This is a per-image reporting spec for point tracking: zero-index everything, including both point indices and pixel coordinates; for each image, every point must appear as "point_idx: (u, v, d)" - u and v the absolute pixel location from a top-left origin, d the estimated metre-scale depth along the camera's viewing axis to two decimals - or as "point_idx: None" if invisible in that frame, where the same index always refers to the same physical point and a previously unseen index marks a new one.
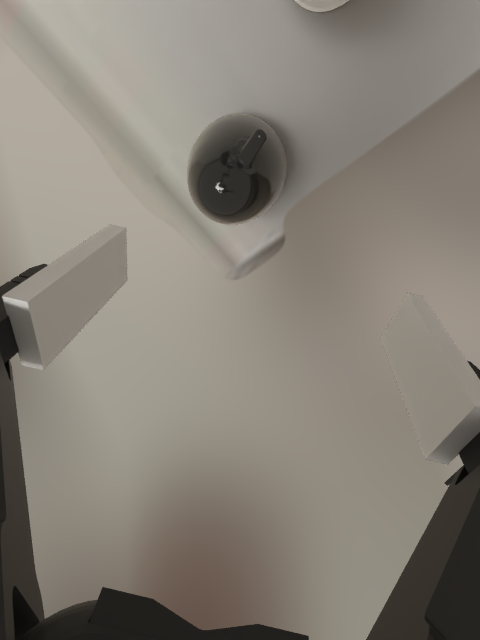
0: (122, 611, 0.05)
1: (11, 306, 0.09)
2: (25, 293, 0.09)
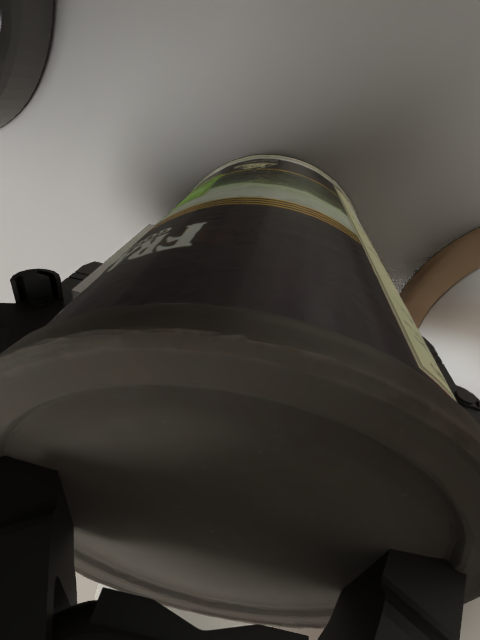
0: (122, 611, 0.05)
1: None
2: None
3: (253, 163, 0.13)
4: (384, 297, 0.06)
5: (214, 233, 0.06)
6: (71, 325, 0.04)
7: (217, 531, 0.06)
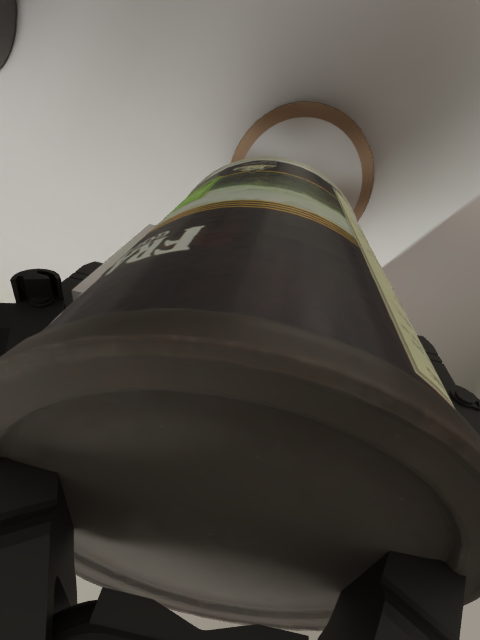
0: (122, 611, 0.05)
1: None
2: None
3: (252, 165, 0.13)
4: (382, 301, 0.06)
5: (212, 237, 0.06)
6: (69, 331, 0.04)
7: (215, 535, 0.06)
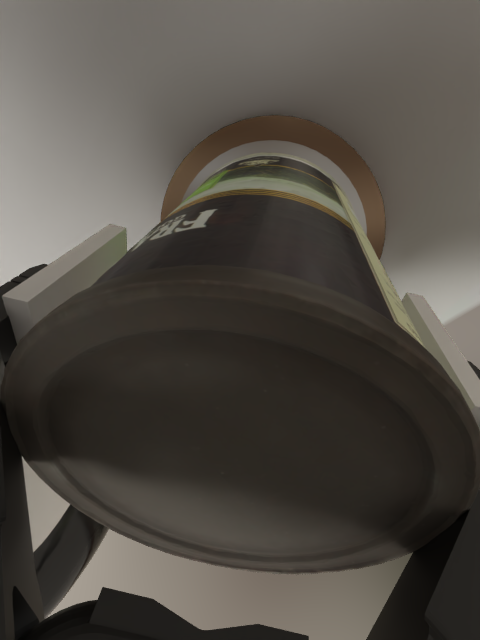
0: (122, 611, 0.05)
1: (11, 306, 0.09)
2: (25, 293, 0.09)
3: (256, 160, 0.14)
4: (370, 271, 0.07)
5: (224, 217, 0.07)
6: (116, 282, 0.05)
7: (227, 473, 0.07)
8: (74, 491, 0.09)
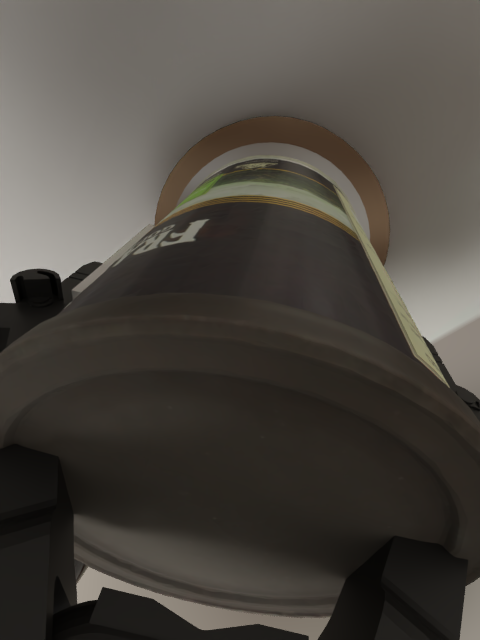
0: (122, 611, 0.05)
1: None
2: None
3: (254, 163, 0.14)
4: (382, 291, 0.06)
5: (217, 229, 0.07)
6: (83, 313, 0.04)
7: (220, 518, 0.06)
8: None
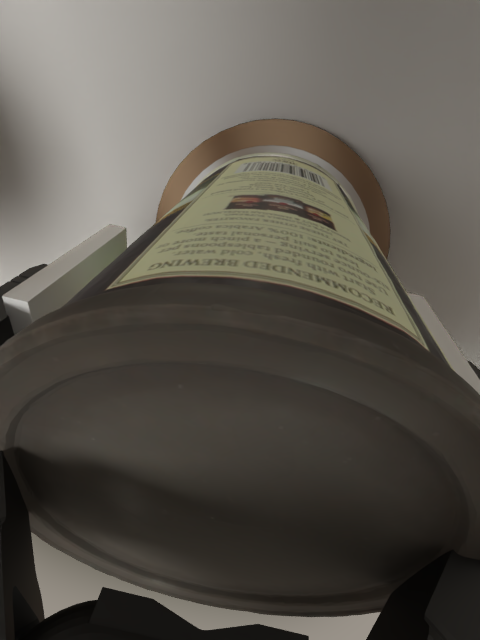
0: (122, 611, 0.05)
1: (11, 306, 0.09)
2: (25, 293, 0.09)
3: None
4: (148, 244, 0.06)
5: None
6: None
7: (214, 516, 0.06)
8: (193, 593, 0.09)
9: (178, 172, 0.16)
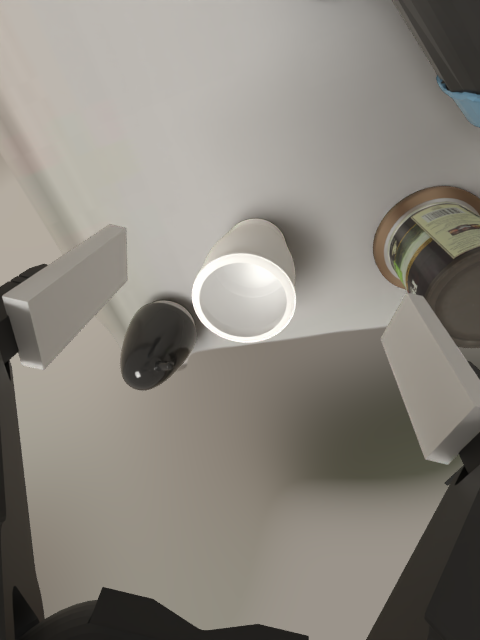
0: (122, 611, 0.05)
1: (11, 306, 0.09)
2: (25, 293, 0.09)
3: (393, 248, 0.38)
4: (443, 250, 0.29)
5: (416, 279, 0.31)
6: None
7: None
8: None
9: (383, 228, 0.39)
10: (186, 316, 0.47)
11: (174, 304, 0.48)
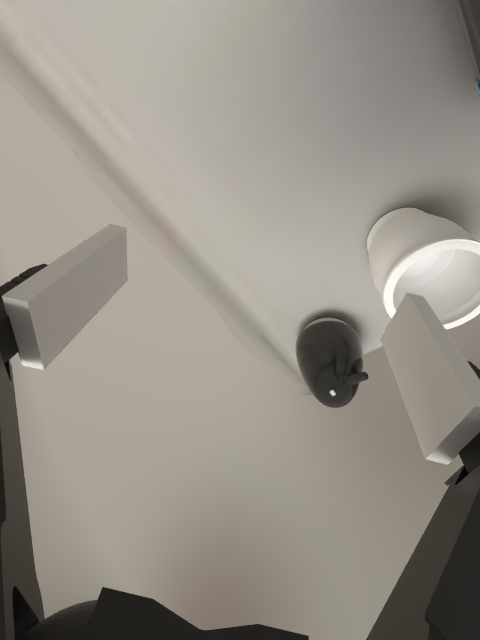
0: (122, 611, 0.05)
1: (11, 306, 0.09)
2: (25, 293, 0.09)
3: None
4: None
5: None
6: None
7: None
8: None
9: None
10: (348, 326, 0.48)
11: (331, 319, 0.49)
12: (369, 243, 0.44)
